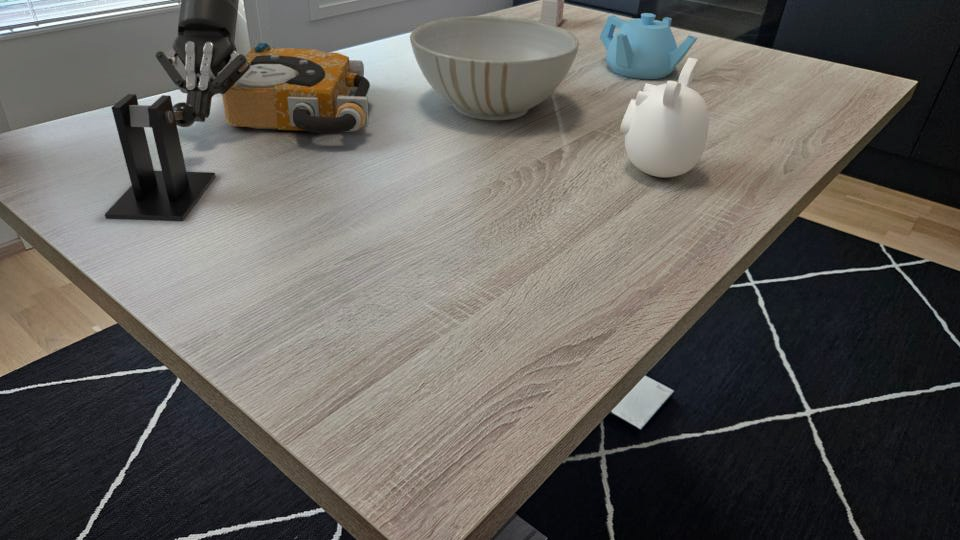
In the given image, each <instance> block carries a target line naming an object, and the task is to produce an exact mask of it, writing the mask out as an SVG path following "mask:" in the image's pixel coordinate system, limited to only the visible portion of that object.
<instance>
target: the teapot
mask: <svg viewBox="0 0 960 540" xmlns="http://www.w3.org/2000/svg"><path fill="white" fill-rule="evenodd" d="M656 17H657V15H656V14H654V13H651V12H643V13H641V14H640V17H639V18H631V19H630V18H629V19H628V20H624V19H622V18H621V17H618V16H616V15H614V14H613V15H608V16H607V18H606V20H605V23H604V25H603V27H602V29H601V32H600V34H599V37H598V38H599V40H600V41H601V43H602V45H603V46H604V48H605V50H606V52H605V61H606V63H607V65H608V66H609V68H610V70H611V71H612V72H614V73H615V74H617V75H620V76H623V77H627V78H631V79H637V80H658V79H664V78H666V77H667V76H669V75H670V74H671V73H672V72H673V71H674V70H675V69H676V68H677V66H678V65H680V63H681V61H682V60H683V59H684V58H685V56H686V55H687V54H688V52H689V51H690V49H691V48H692V46H693V45H694V44H695V43H696V41H697V40H698V37H696V36H693V35H691V34H689V35H688V36H686V38H685V39H684V40H683V41H682V42H681V43H680V44H679V45H678V44H677V42H676V39H675V36H674V34H673V31H672V29H671V25H672V21H673V17H667V16H666V17H663V18H662V20H659V19H656ZM616 28H618V30H617V31H616V33H615V34H614V32H615V30H616Z"/></svg>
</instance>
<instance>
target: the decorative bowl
mask: <svg viewBox="0 0 960 540" xmlns="http://www.w3.org/2000/svg"><path fill="white" fill-rule="evenodd" d="M409 35H410V36H409V40H410V44H411V49H412V53H413V55H414V59H415V60H416V63H417V65H418V67H419V70H420V71H421V73H422V75H423V77H424V78H425V80H426V81H427V82H428V84H429V86H430V87H431V88H432V89H433V91H435V92H436V93H437V94H438V95H439V96H440V97H441V98H442V99H443V100H445V102H447V103H449V104H450V105H452V106H453V107H454V109H455V110H456V111H457V112H458V113H460V114H461V115H463V116H466V117H469V118H472V119H476V120H483V121H507V120H513V119H517V118H521V117H522V116H524V115H526V114H527V113H528V112H529V110H530V109H532V108H534V107H536V106H537V105H539V104H541V103H543V101H545V100H546V99H548V97H550V95H552V94H553V93H554V92H555V91H556V89H557V88H558V87H559V86H560V85H561V84H562V82H563V80H564V79H565V78H566V76H567V74H568V73H569V71H570V69H571V67H572V65H573V63H574V61H575V59H576V56H577V54H578V50H579V48H580V41H579V39H578V38H577V36H576V35H575V34H574V33H572V32H571V31H569V30H567V29H565V28H562V27H560V26H558V27H557V26H554V25H551V24H547V23H543V22H541V21H538V20H534V19H528V18H521V17H511V16H497V15H496V16H495V15H470V16H469V15H468V16H456V17H455V16H454V17H447V18H441V19H435V20H431V21H428V22H425V23H422V24H420V25H419V26H417V27H415V28H414V29H413V30H412V31H411V32H410V34H409Z"/></svg>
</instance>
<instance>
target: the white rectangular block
mask: <svg viewBox="0 0 960 540" xmlns="http://www.w3.org/2000/svg"><path fill="white" fill-rule="evenodd" d="M564 8H565V0H542V1H541V15H540V22H543V23H547V24H551V25H554V26H557V27H560V25H561V24H562V23H563V18H564V17H563V16H564Z"/></svg>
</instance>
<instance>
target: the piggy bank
mask: <svg viewBox="0 0 960 540" xmlns="http://www.w3.org/2000/svg"><path fill="white" fill-rule="evenodd" d="M698 64H699V59H697V58H694V57H690V56H689V57H688V58H687V60H686V62H685V63H684V65H683V67H682V69H681V71H680V74H679V76H678V79H677V80H678V81H675V80H671V79H670V80H667V82H666V83H663V84H658V85H655V84H651V83H647V82H646V83H645V84H644V87H643V90H638V91H637V94H636V98H632V99H630V101H629V103H628V105H627V108H626V111H625V113H624V115H623V118H622V120H621V123H620V127H619V133H620V134H622V135H624V150H625V153H626V156H627V157H628V160H629V161H630V162H631V163H632V165H633V166H634V167H636V168H637V169H638V170H640V172H643V173H645V174H647V175H649V176H653V177H656V178H675V177H678V176H681V175H684V174H686V173H687V172H689V171H690V170H692V169H693V168H694V167H695V166H696V165H697V164H698V162H699V161H700V159H701V157H702V156H703V154H704V151H705V148H706V144H707V140H708V135H709V134H708V133H709V112H708V107H707V103H706V101H705V99H704V98H703V97H702V95H701V94H700V93H698V92H697V90H694V89H693V88H691V87H690V86H691V84H692V82H693V79H694V76H695V74H696V71H697V68H698Z"/></svg>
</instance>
